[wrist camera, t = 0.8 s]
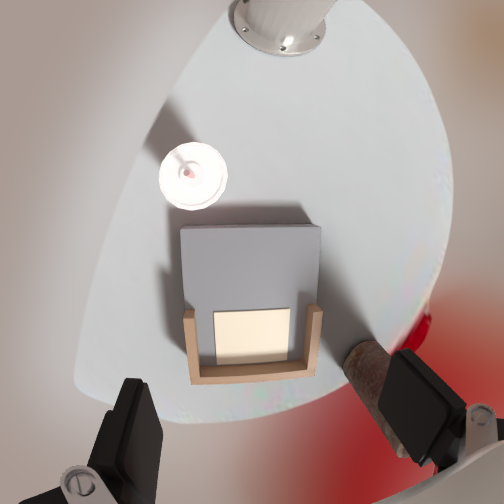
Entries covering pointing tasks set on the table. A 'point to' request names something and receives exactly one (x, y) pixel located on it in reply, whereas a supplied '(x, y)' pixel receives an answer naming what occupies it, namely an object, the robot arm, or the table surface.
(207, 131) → the table surface
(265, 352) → the dock
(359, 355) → the brown rough cylinder
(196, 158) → the beverage cup
